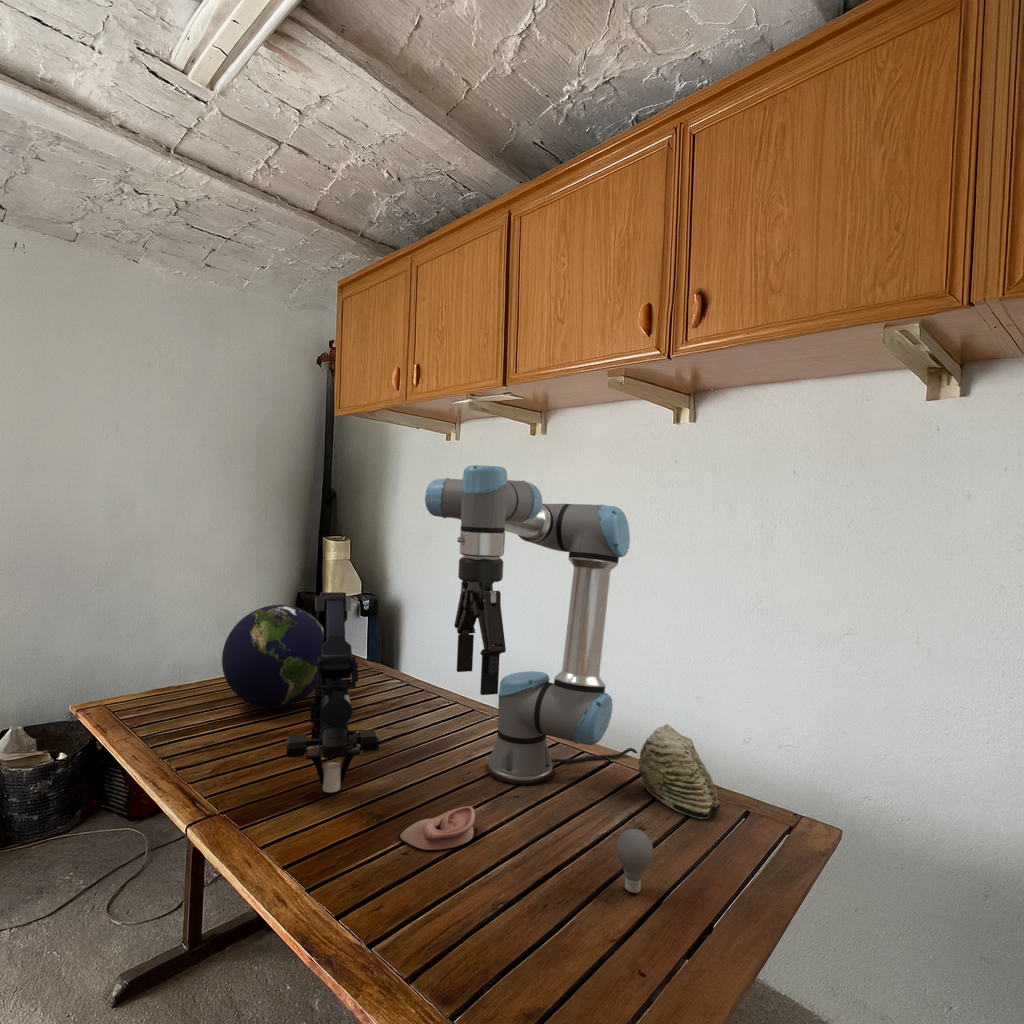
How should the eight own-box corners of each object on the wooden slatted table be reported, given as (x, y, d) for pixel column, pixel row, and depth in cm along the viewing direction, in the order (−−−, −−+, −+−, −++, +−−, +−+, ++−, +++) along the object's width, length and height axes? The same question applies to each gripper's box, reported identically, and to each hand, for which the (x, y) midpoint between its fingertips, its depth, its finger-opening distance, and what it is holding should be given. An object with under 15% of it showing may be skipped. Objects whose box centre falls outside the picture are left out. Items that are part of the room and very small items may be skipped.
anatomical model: (394, 823, 116) (416, 795, 127) (393, 845, 116) (415, 815, 127) (464, 834, 113) (480, 805, 125) (463, 856, 113) (479, 825, 125)
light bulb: (610, 879, 108) (613, 822, 108) (644, 879, 109) (647, 822, 109) (619, 902, 102) (622, 840, 102) (655, 901, 103) (658, 840, 103)
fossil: (649, 780, 149) (652, 716, 148) (724, 809, 136) (728, 740, 135) (628, 791, 142) (631, 725, 142) (704, 823, 129) (708, 750, 129)
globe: (289, 685, 209) (292, 594, 208) (348, 705, 191) (352, 606, 191) (199, 706, 185) (203, 604, 184) (258, 732, 167) (262, 619, 167)
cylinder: (319, 790, 134) (320, 767, 134) (329, 783, 137) (330, 761, 137) (333, 793, 133) (334, 770, 133) (343, 786, 136) (344, 764, 136)
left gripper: (287, 726, 124) (284, 805, 125) (383, 720, 130) (380, 795, 131) (288, 707, 135) (285, 780, 135) (377, 702, 141) (374, 772, 141)
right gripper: (441, 550, 117) (436, 664, 118) (483, 565, 94) (477, 707, 94) (479, 550, 120) (474, 662, 120) (530, 565, 97) (524, 703, 97)
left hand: (331, 782), depth 135 cm, fingers closed on cylinder, 4 cm apart
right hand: (476, 682), depth 107 cm, fingers open, 13 cm apart
